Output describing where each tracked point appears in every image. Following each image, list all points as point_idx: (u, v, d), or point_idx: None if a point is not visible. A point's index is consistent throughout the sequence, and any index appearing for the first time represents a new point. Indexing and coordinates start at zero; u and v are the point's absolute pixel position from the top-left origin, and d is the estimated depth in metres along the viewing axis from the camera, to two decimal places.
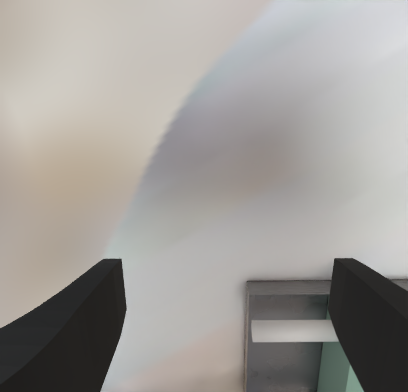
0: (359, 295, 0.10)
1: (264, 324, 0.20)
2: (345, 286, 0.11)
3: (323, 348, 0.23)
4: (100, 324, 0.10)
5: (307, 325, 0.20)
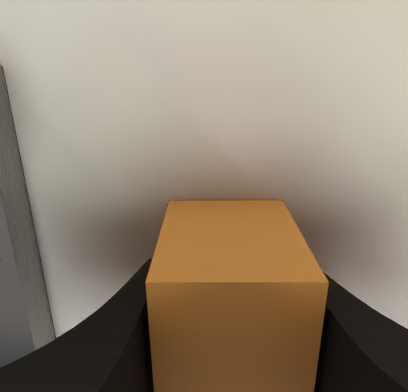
0: None
1: None
2: None
3: None
4: None
5: None
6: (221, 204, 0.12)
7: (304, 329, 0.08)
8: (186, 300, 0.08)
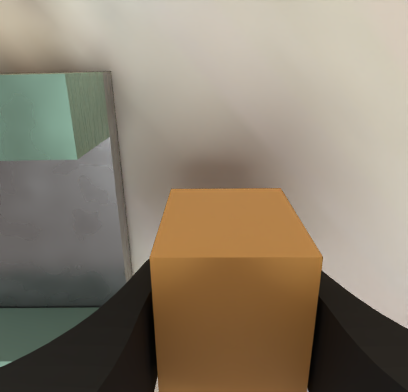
0: None
1: None
2: None
3: None
4: None
5: None
6: (221, 191, 0.12)
7: (300, 303, 0.08)
8: (188, 274, 0.08)
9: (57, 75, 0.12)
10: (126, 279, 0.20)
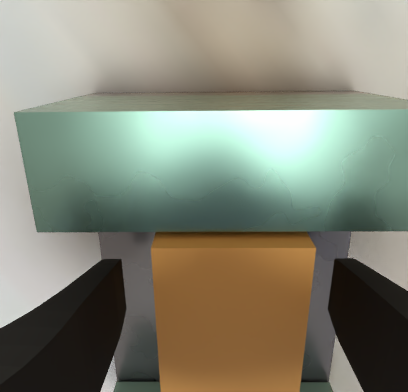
0: (359, 295, 0.10)
1: None
2: (345, 286, 0.11)
3: None
4: (100, 324, 0.10)
5: None
6: None
7: (294, 292, 0.09)
8: (188, 265, 0.09)
9: None
10: None
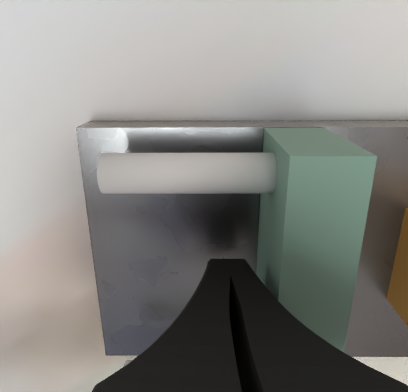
0: (231, 295, 0.10)
1: (123, 155, 0.10)
2: None
3: (259, 238, 0.13)
4: None
5: (208, 156, 0.10)
6: None
7: None
8: None
9: None
10: None
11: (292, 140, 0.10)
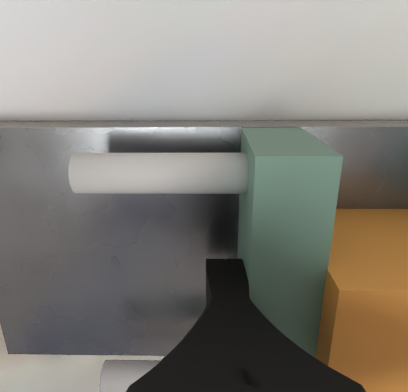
0: (208, 295, 0.10)
1: (95, 155, 0.10)
2: (206, 286, 0.11)
3: (238, 238, 0.13)
4: None
5: (180, 156, 0.10)
6: None
7: None
8: None
9: None
10: None
11: (264, 140, 0.10)
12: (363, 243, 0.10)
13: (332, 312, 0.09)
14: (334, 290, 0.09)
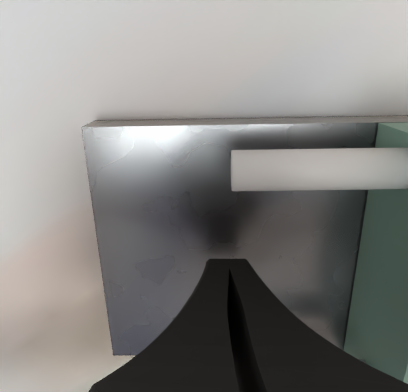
0: (233, 295, 0.10)
1: (255, 152, 0.10)
2: (230, 286, 0.11)
3: (363, 235, 0.13)
4: None
5: (344, 152, 0.10)
6: None
7: None
8: None
9: None
10: None
11: None
12: None
13: None
14: None
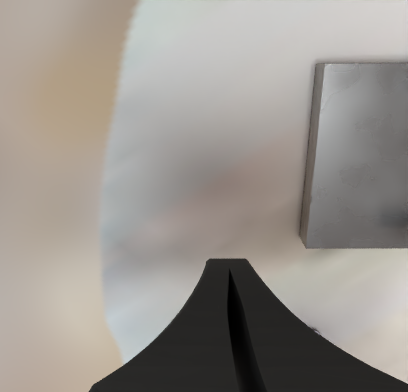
0: (233, 295, 0.10)
1: None
2: (230, 286, 0.11)
3: None
4: None
5: None
6: None
7: None
8: None
9: None
10: None
11: None
12: None
13: None
14: None
